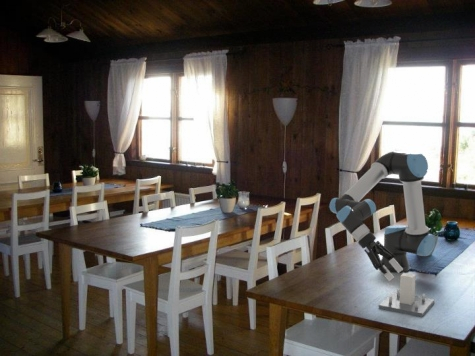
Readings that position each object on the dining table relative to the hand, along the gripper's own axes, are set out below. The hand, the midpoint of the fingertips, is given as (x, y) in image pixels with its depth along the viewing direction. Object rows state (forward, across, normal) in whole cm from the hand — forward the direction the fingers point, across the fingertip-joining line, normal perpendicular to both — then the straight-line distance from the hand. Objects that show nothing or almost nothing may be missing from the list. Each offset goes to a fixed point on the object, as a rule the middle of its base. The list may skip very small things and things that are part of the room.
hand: (396, 275), depth 233 cm
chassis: (+12, 0, -6) cm, 14 cm away
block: (+11, 0, -4) cm, 12 cm away
